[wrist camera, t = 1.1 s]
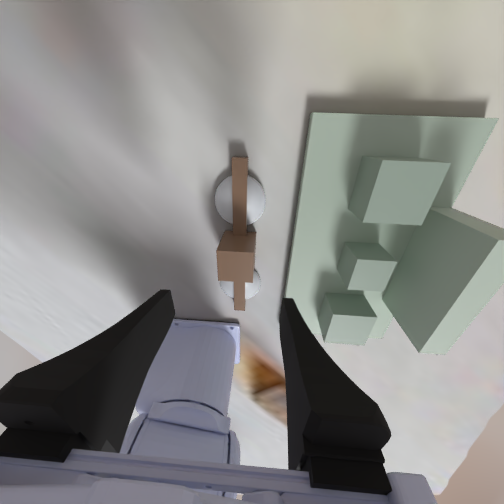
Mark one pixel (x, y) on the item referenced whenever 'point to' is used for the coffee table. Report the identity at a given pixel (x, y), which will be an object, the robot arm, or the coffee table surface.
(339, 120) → the mint green baseplate
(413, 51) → the coffee table surface
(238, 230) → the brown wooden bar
